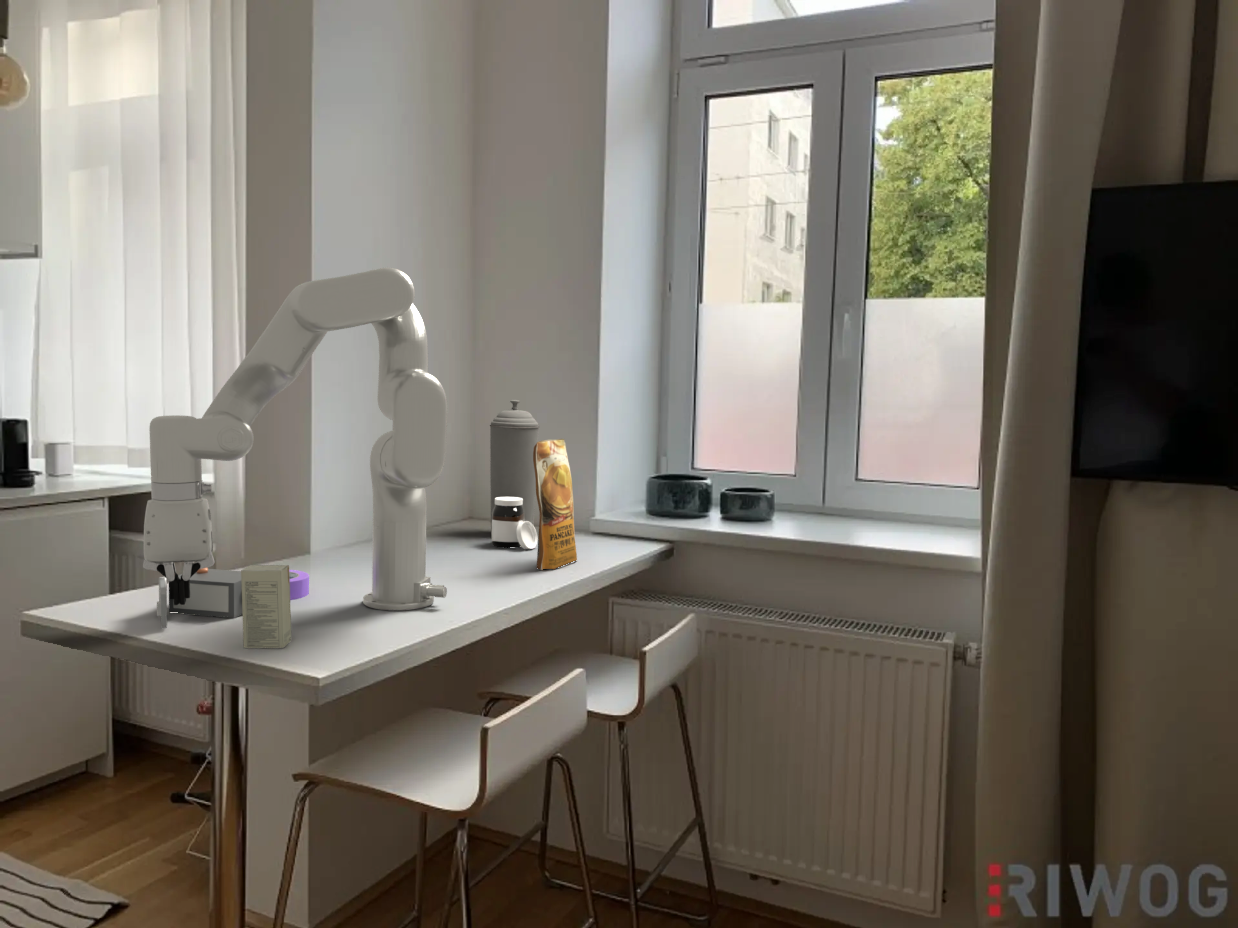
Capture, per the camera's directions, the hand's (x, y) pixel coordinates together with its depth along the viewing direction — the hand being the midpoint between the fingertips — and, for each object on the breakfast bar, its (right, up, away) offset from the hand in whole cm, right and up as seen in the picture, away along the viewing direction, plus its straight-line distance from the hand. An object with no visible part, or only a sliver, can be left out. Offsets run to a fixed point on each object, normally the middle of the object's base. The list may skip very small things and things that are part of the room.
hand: (180, 602), depth 163 cm
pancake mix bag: (+57, 0, +59) cm, 83 cm away
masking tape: (+8, -2, +23) cm, 24 cm away
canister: (+44, +4, +96) cm, 105 cm away
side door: (-3, -3, +1) cm, 5 cm away
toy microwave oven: (+2, -3, +10) cm, 11 cm away
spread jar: (+46, +2, +79) cm, 92 cm away
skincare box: (+18, -5, -10) cm, 21 cm away
